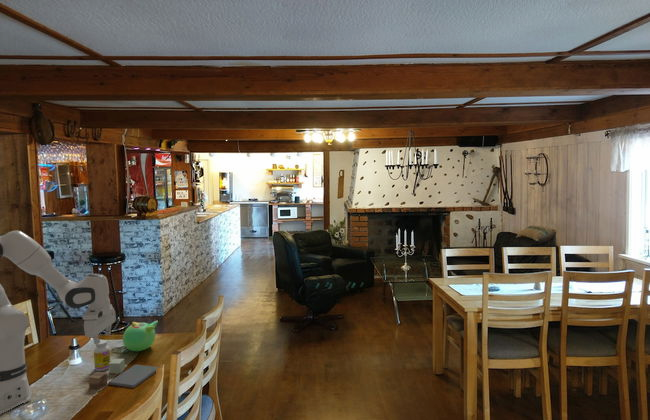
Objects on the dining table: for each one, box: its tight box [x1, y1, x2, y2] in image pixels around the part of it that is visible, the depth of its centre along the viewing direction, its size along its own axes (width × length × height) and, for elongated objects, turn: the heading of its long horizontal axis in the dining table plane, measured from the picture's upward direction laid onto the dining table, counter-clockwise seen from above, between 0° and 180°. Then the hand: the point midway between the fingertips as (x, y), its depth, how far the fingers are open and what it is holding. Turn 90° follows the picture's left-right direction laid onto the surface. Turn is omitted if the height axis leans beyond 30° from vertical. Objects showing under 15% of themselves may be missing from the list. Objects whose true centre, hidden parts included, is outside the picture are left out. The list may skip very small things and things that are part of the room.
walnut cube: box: [88, 371, 109, 390], centre depth 194 cm, size 5×5×5 cm
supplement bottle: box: [93, 339, 111, 372], centre depth 211 cm, size 7×7×13 cm
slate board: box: [108, 364, 159, 389], centre depth 202 cm, size 18×13×1 cm
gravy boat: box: [122, 320, 159, 352], centre depth 233 cm, size 18×17×15 cm
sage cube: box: [108, 358, 126, 375], centre depth 208 cm, size 5×5×5 cm
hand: (102, 339), depth 199 cm, fingers open, 8 cm apart
